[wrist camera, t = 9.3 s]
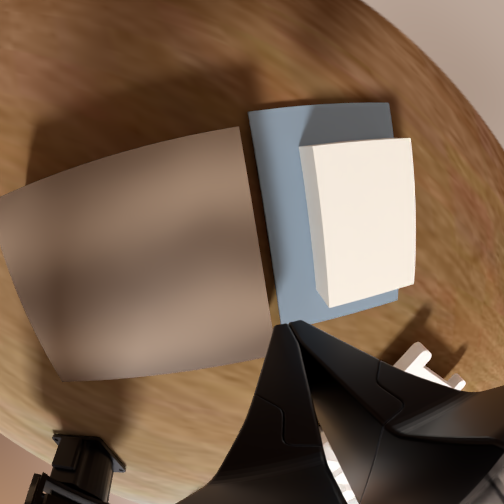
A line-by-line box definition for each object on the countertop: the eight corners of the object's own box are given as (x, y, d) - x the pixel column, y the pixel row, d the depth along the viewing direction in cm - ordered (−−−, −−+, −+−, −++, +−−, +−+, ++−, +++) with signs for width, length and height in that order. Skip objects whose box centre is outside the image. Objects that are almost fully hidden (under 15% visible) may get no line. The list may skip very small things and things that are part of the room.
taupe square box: (265, 318, 20) (276, 354, 16) (80, 347, 19) (62, 381, 15) (232, 132, 16) (238, 126, 12) (24, 190, 15) (-12, 202, 11)
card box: (329, 308, 17) (315, 288, 19) (413, 283, 17) (393, 268, 20) (312, 146, 14) (298, 146, 16) (410, 138, 14) (387, 138, 17)
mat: (394, 297, 21) (397, 300, 21) (281, 327, 21) (282, 330, 20) (385, 103, 16) (388, 102, 16) (247, 112, 16) (248, 111, 15)
